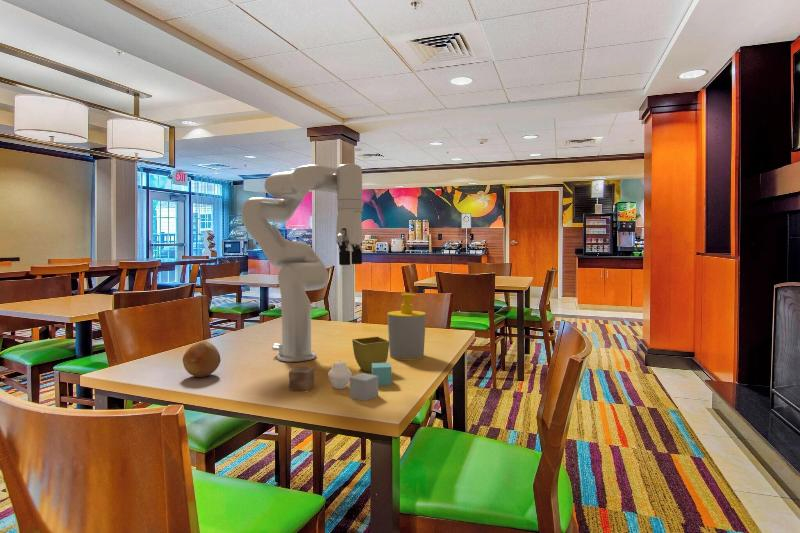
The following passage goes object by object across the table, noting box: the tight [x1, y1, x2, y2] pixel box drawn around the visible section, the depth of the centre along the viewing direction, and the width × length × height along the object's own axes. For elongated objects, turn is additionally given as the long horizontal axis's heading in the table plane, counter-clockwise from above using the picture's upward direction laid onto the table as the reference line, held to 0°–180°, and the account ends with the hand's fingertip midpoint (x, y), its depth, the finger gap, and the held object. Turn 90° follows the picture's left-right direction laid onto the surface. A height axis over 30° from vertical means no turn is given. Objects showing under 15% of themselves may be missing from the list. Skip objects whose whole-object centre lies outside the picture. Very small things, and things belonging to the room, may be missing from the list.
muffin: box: [327, 360, 353, 390], centre depth 122 cm, size 6×6×7 cm
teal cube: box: [371, 362, 392, 387], centre depth 126 cm, size 5×5×5 cm
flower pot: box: [351, 336, 390, 373], centre depth 139 cm, size 9×9×9 cm
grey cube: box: [349, 372, 379, 402], centre depth 114 cm, size 5×5×5 cm
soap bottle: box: [386, 292, 427, 361], centre depth 156 cm, size 13×13×21 cm
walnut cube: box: [288, 366, 315, 392], centre depth 121 cm, size 5×5×5 cm
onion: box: [182, 340, 222, 379], centre depth 132 cm, size 10×10×10 cm
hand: (351, 264), depth 138 cm, fingers open, 9 cm apart
